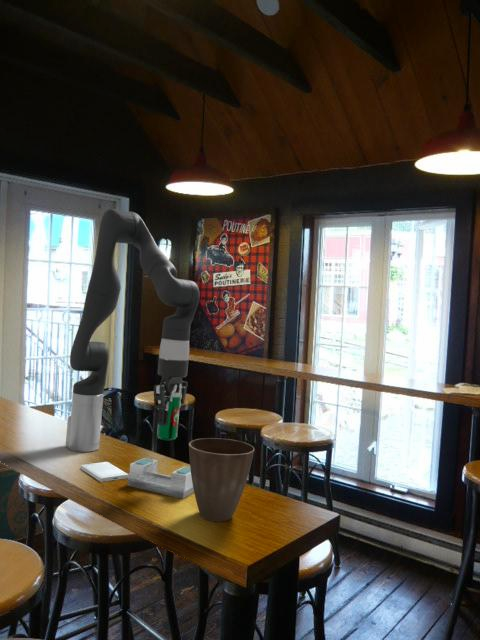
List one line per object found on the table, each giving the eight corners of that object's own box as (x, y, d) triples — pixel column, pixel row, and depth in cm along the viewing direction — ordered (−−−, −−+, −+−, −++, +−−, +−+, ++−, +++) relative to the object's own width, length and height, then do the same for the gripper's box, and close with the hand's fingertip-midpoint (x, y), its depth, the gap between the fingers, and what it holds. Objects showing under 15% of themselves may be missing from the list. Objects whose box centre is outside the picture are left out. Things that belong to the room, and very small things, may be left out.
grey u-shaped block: (127, 485, 139) (129, 462, 139) (144, 477, 147) (146, 456, 147) (183, 498, 133) (185, 475, 133) (197, 489, 141) (199, 467, 141)
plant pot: (169, 512, 124) (175, 442, 124) (214, 499, 135) (220, 434, 135) (216, 534, 114) (223, 458, 114) (261, 518, 125) (267, 449, 125)
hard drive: (80, 464, 150) (101, 477, 140) (108, 461, 155) (129, 473, 145) (80, 470, 150) (100, 484, 140) (107, 467, 155) (129, 479, 145)
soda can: (154, 435, 141) (158, 389, 141) (173, 435, 143) (177, 390, 143) (159, 440, 136) (164, 393, 136) (179, 440, 138) (183, 393, 138)
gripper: (174, 354, 147) (169, 417, 148) (146, 356, 134) (140, 425, 134) (199, 357, 145) (193, 421, 145) (173, 360, 131) (166, 430, 132)
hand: (168, 423), depth 140 cm, fingers closed on soda can, 5 cm apart
